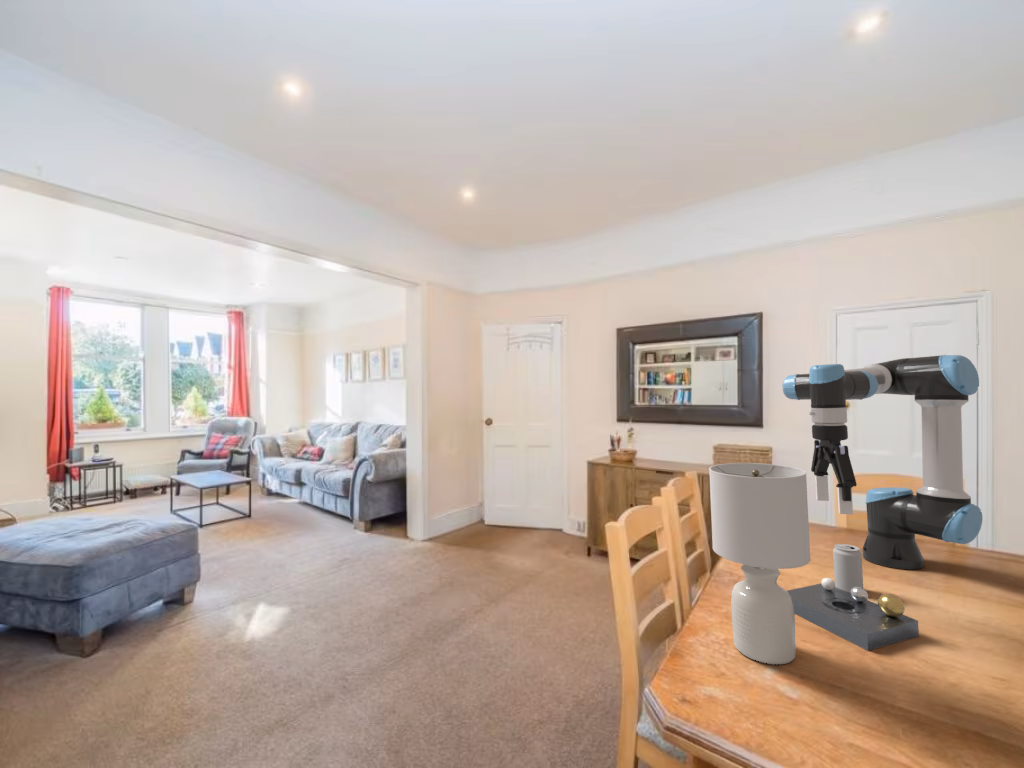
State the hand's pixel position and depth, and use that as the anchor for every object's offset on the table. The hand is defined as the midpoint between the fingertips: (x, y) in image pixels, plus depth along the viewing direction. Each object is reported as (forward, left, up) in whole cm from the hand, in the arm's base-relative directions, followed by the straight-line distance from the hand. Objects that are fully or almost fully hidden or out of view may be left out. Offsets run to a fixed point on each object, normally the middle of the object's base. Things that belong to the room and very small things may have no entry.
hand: (833, 506), depth 116 cm
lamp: (+33, +8, -26) cm, 42 cm away
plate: (+5, +5, -26) cm, 27 cm away
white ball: (0, -3, -21) cm, 21 cm away
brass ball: (0, +12, -20) cm, 23 cm away
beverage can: (-12, -6, -26) cm, 30 cm away
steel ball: (-1, +5, -21) cm, 21 cm away
